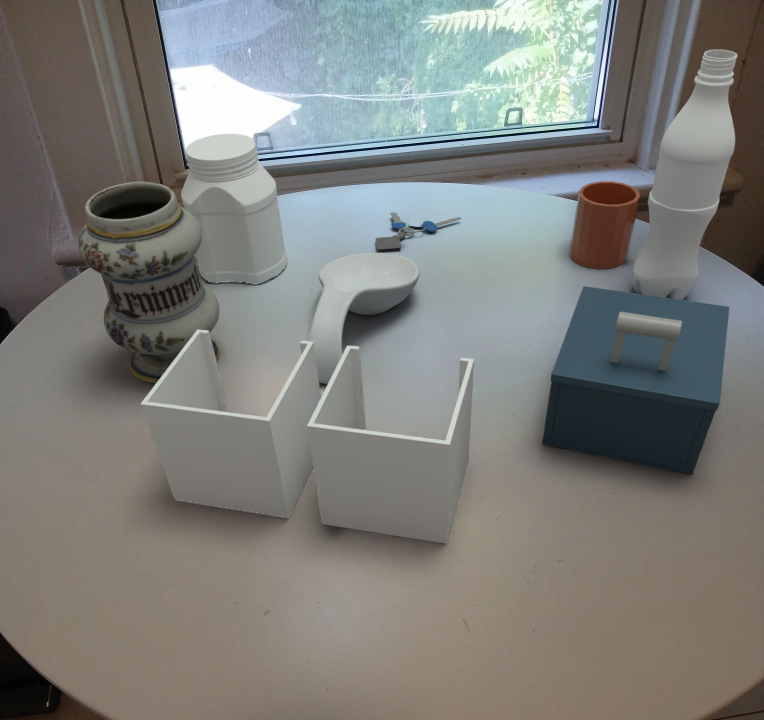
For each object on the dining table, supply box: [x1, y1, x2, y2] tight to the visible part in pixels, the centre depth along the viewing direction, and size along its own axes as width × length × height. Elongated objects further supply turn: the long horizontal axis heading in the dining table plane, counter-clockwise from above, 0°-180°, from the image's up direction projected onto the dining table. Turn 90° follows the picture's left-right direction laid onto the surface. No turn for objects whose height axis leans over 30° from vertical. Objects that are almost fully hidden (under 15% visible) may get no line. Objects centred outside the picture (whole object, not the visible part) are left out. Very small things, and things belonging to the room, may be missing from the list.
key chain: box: [375, 211, 462, 251], centre depth 101 cm, size 14×8×1 cm, turn 131°
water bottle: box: [631, 49, 738, 300], centre depth 78 cm, size 7×7×25 cm
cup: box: [569, 180, 641, 270], centre depth 91 cm, size 7×7×8 cm
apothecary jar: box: [77, 181, 220, 385], centre depth 75 cm, size 12×12×18 cm
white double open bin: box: [140, 329, 475, 545], centre depth 63 cm, size 25×11×11 cm, turn 76°
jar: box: [180, 133, 288, 286], centre depth 91 cm, size 12×10×15 cm
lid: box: [550, 285, 730, 412], centre depth 64 cm, size 15×14×5 cm
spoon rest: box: [307, 252, 420, 385], centre depth 82 cm, size 24×12×7 cm, turn 166°
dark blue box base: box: [541, 380, 716, 475], centre depth 69 cm, size 15×14×8 cm
